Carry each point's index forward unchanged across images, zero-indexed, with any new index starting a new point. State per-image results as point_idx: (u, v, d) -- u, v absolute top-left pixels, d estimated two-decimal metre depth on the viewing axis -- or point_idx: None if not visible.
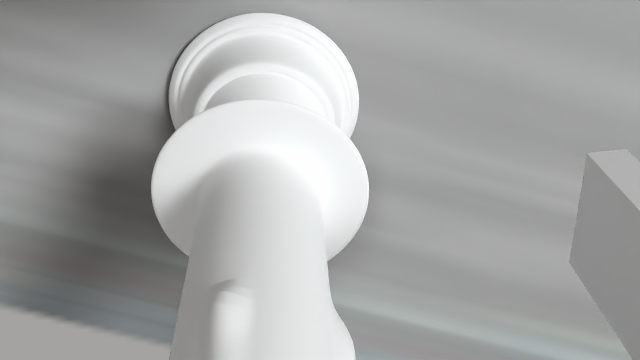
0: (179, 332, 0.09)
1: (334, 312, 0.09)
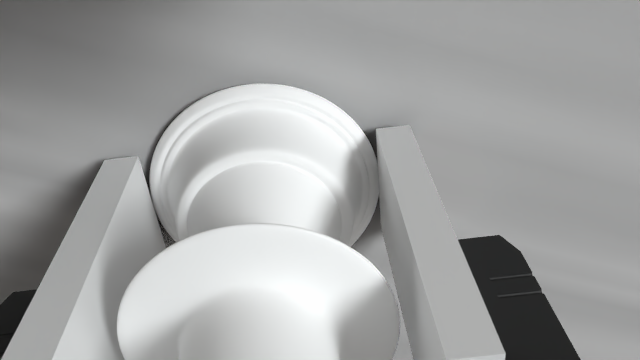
0: None
1: None
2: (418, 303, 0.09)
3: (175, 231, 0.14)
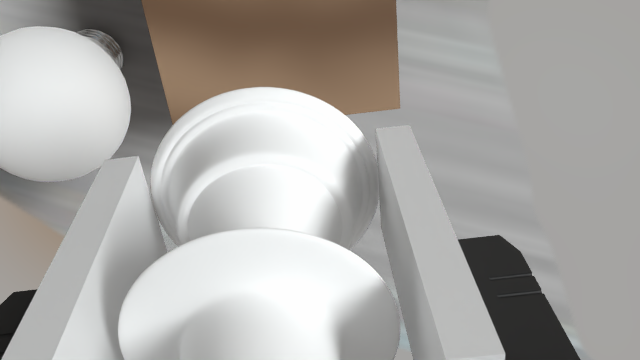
0: None
1: None
2: (418, 303, 0.09)
3: (176, 234, 0.14)
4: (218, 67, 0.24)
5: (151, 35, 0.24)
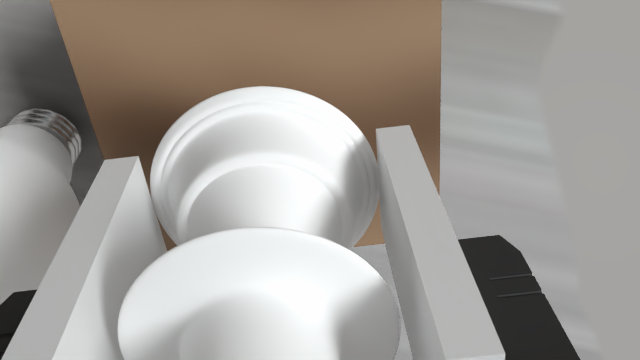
0: None
1: None
2: (418, 303, 0.09)
3: (176, 233, 0.14)
4: None
5: (104, 155, 0.17)
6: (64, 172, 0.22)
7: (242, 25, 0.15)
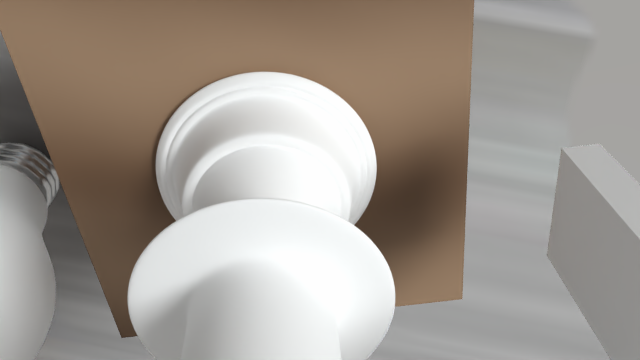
0: None
1: None
2: None
3: (180, 215, 0.14)
4: None
5: (74, 213, 0.15)
6: (36, 219, 0.19)
7: (235, 65, 0.13)
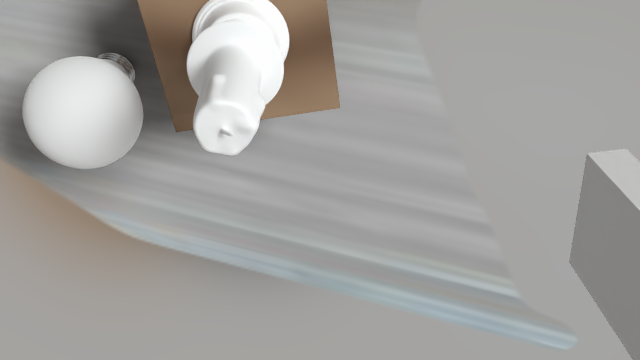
0: (200, 92, 0.24)
1: (258, 92, 0.25)
2: None
3: None
4: None
5: (156, 61, 0.33)
6: None
7: None
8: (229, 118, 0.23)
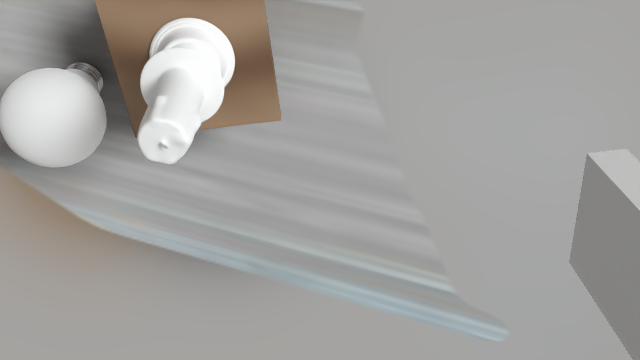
0: None
1: (196, 110, 0.30)
2: None
3: None
4: None
5: (117, 75, 0.38)
6: None
7: (178, 15, 0.36)
8: (167, 134, 0.27)
